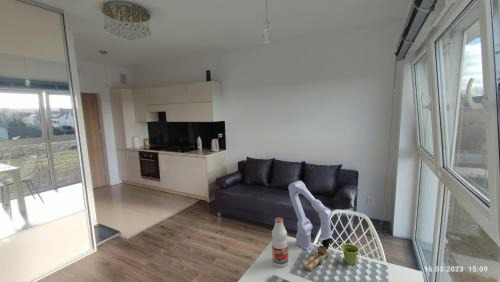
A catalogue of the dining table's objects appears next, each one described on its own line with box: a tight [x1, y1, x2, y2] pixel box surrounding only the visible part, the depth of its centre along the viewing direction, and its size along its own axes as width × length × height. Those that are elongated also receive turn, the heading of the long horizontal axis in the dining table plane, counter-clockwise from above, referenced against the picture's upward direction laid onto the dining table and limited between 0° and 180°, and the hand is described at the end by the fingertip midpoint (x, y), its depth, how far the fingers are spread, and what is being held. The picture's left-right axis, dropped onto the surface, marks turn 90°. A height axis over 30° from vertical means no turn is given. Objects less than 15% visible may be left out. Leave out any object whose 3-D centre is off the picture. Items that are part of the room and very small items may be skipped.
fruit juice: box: [271, 217, 289, 269], centre depth 138 cm, size 9×9×28 cm
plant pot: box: [341, 243, 360, 266], centre depth 138 cm, size 9×9×9 cm
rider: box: [316, 244, 328, 257], centre depth 143 cm, size 4×4×5 cm
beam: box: [302, 250, 330, 273], centre depth 139 cm, size 20×6×3 cm, turn 132°
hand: (325, 248), depth 146 cm, fingers closed
